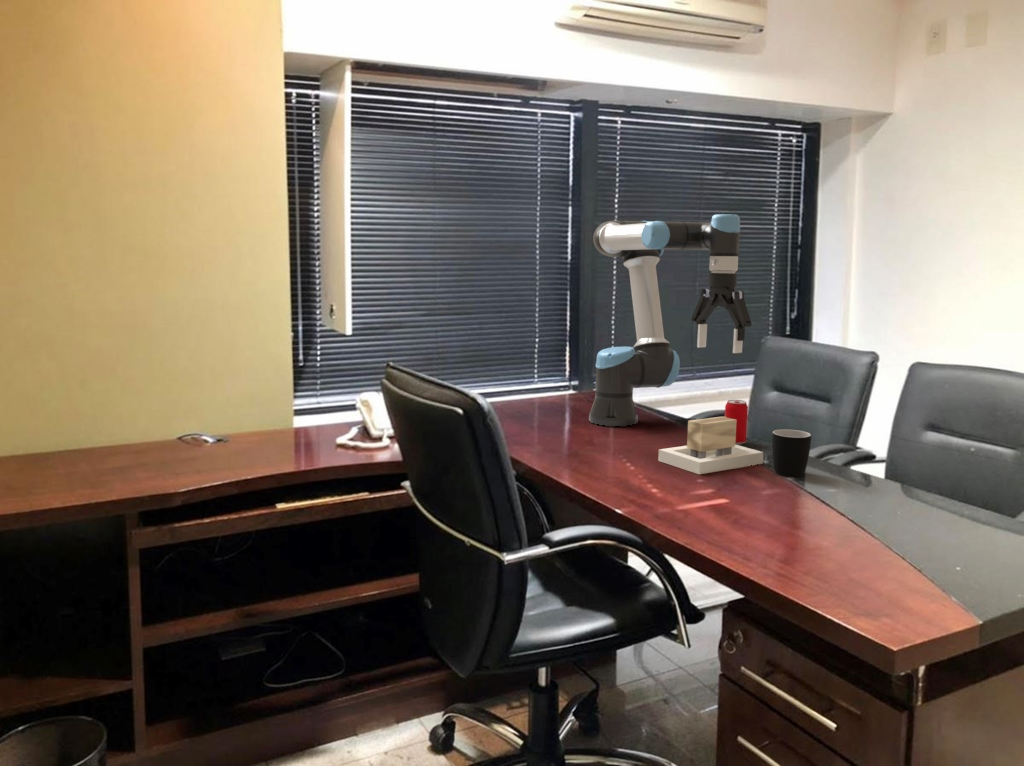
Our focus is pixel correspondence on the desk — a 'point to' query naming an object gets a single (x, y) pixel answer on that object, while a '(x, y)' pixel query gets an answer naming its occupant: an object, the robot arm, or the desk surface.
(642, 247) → the robot arm
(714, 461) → the peg frame
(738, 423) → the beverage can
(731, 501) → the desk surface
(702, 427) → the wooden block
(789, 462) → the mug
